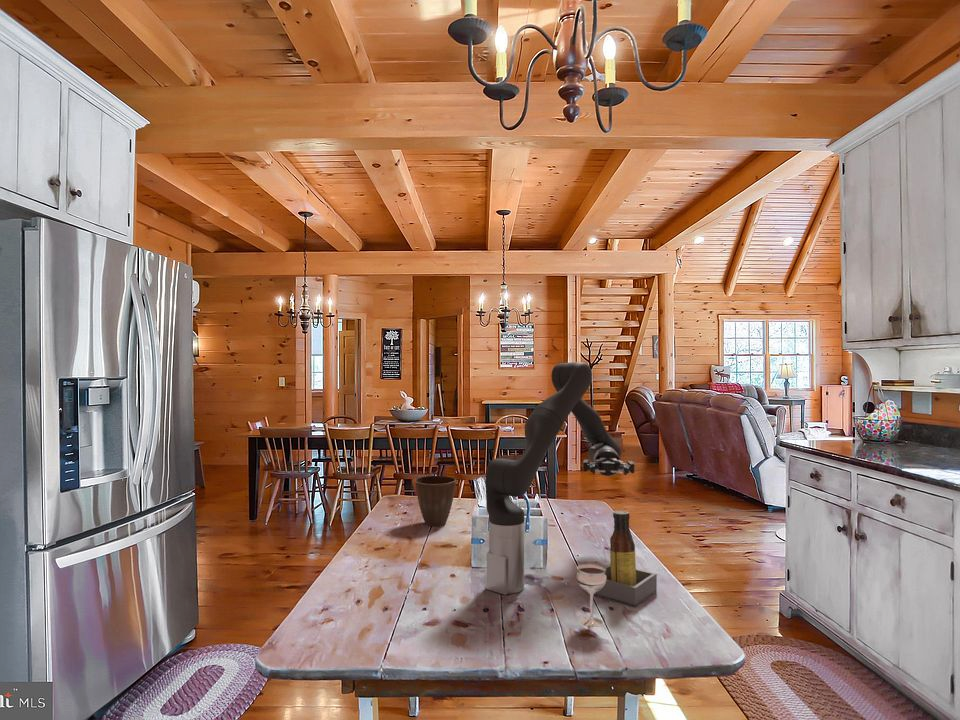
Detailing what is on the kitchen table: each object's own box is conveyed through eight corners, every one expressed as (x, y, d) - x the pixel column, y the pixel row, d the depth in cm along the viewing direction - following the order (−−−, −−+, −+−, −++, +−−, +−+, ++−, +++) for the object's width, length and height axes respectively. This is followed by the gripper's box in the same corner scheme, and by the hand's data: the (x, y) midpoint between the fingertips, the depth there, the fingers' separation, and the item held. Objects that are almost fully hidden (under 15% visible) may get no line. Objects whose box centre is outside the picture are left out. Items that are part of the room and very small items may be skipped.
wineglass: (600, 631, 130) (600, 576, 130) (571, 623, 133) (571, 570, 133) (611, 619, 135) (611, 567, 135) (583, 612, 139) (583, 561, 139)
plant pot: (454, 529, 207) (455, 484, 207) (412, 529, 207) (412, 483, 207) (457, 518, 222) (457, 475, 222) (417, 518, 222) (417, 475, 222)
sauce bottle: (641, 590, 151) (641, 512, 151) (626, 597, 147) (626, 517, 147) (619, 583, 156) (619, 507, 156) (605, 589, 152) (605, 511, 151)
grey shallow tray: (635, 607, 142) (635, 588, 142) (588, 594, 150) (588, 576, 150) (656, 591, 152) (656, 573, 152) (611, 580, 160) (611, 563, 160)
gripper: (582, 447, 180) (583, 456, 164) (631, 449, 177) (636, 457, 161) (582, 472, 180) (583, 483, 164) (631, 474, 177) (636, 485, 161)
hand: (609, 470), depth 163 cm, fingers open, 8 cm apart
